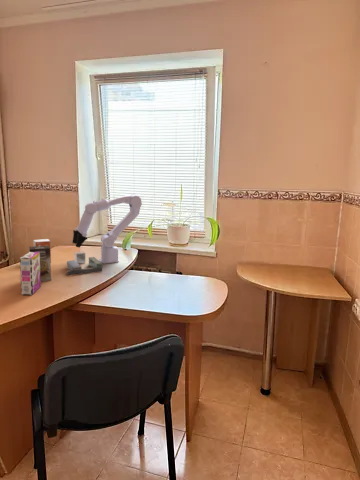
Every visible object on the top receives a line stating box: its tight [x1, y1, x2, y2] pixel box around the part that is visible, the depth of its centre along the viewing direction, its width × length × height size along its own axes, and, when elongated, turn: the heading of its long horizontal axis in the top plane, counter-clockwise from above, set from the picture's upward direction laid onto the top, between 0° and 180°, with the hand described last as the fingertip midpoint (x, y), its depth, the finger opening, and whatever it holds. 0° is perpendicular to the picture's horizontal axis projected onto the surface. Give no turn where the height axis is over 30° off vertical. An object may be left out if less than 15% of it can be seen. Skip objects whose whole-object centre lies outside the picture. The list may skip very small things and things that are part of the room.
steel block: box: [74, 251, 86, 265], centre depth 191 cm, size 5×4×6 cm
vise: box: [66, 256, 103, 276], centre depth 178 cm, size 18×14×4 cm
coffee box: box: [28, 246, 52, 282], centre depth 159 cm, size 9×6×16 cm
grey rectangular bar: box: [66, 259, 83, 271], centre depth 176 cm, size 4×14×4 cm, turn 32°
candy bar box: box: [19, 251, 42, 296], centre depth 144 cm, size 11×5×16 cm, turn 5°
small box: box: [32, 238, 52, 262], centre depth 187 cm, size 8×6×13 cm
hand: (75, 245), depth 188 cm, fingers open, 7 cm apart
